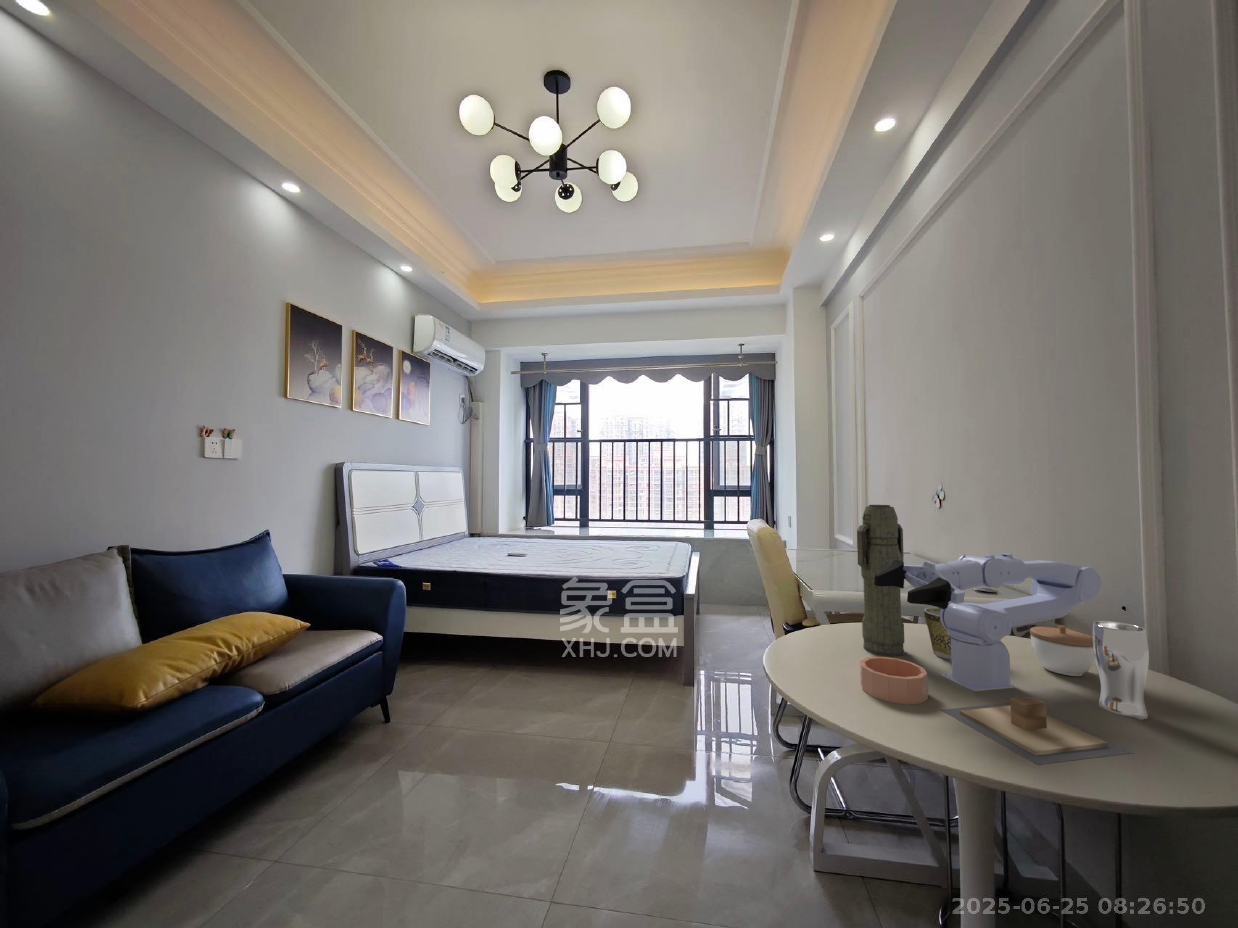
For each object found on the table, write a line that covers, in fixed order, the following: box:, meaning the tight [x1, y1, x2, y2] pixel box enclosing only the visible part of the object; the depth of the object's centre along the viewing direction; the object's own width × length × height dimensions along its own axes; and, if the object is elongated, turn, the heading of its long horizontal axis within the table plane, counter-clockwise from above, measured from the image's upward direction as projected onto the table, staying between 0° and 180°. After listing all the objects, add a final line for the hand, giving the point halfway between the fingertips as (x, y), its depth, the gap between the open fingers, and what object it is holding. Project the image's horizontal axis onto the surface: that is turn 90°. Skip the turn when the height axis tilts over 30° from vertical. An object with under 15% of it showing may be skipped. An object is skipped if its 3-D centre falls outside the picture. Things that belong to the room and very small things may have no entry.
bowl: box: [859, 656, 929, 705], centre depth 94 cm, size 11×11×5 cm
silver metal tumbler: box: [1091, 620, 1150, 721], centre depth 86 cm, size 7×7×15 cm
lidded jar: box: [1029, 625, 1095, 677], centre depth 105 cm, size 11×11×9 cm
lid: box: [960, 696, 1108, 755], centre depth 79 cm, size 13×13×5 cm
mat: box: [940, 702, 1135, 766], centre depth 79 cm, size 17×17×1 cm
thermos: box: [856, 504, 905, 657], centre depth 119 cm, size 9×12×35 cm
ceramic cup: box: [923, 606, 952, 661], centre depth 115 cm, size 13×10×10 cm
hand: (891, 588), depth 93 cm, fingers open, 7 cm apart
